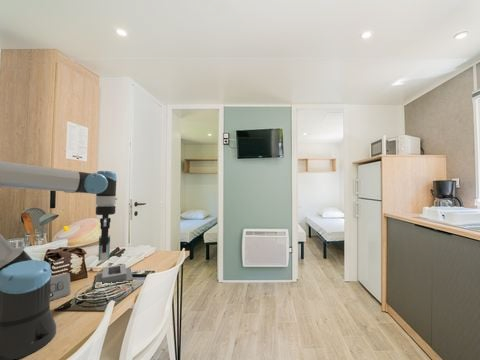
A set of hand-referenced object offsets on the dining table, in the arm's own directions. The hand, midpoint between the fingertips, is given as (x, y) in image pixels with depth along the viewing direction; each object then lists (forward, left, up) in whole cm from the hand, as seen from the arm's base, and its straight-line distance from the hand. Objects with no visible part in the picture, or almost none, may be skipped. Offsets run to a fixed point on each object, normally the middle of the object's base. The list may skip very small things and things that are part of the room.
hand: (104, 258), depth 95 cm
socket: (+16, -4, -16) cm, 23 cm away
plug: (0, 0, 0) cm, 0 cm away
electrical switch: (+7, +18, -16) cm, 25 cm away
